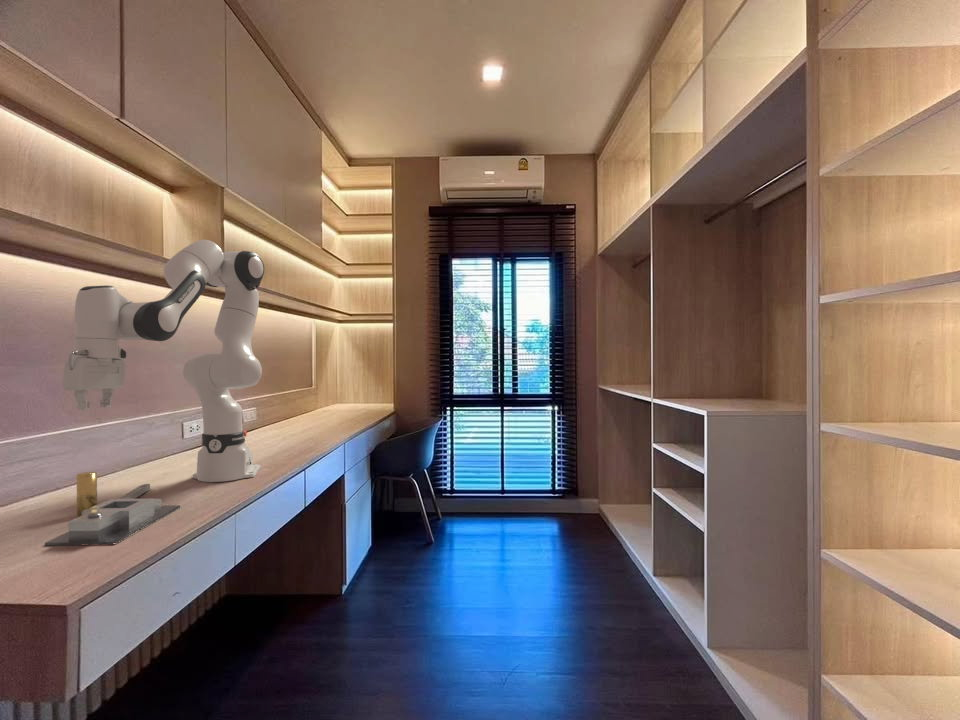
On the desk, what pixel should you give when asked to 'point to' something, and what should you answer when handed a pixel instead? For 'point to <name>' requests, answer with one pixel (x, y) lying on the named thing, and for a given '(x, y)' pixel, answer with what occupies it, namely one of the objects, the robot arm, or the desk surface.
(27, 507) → the desk surface
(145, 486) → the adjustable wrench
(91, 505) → the brass pin
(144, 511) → the sliding bolt latch
